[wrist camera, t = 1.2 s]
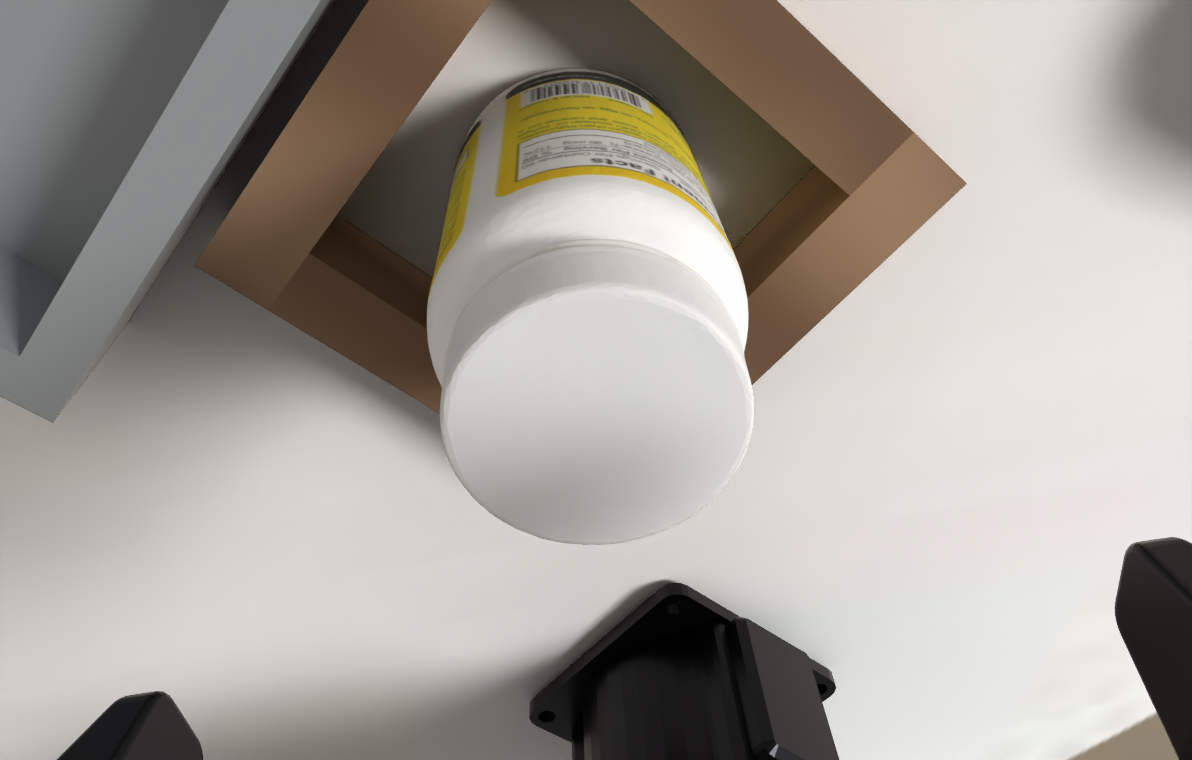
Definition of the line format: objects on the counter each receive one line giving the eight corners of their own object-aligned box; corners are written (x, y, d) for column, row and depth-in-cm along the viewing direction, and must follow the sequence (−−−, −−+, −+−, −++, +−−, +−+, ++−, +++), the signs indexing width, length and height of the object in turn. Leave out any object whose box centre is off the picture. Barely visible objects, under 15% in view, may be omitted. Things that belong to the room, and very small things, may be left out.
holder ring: (606, 462, 23) (611, 517, 21) (224, 221, 19) (194, 265, 17) (929, 146, 19) (966, 183, 17) (529, -238, 15) (527, -240, 13)
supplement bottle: (556, 328, 21) (563, 620, 13) (404, 167, 18) (319, 412, 11) (739, 199, 19) (854, 449, 12) (598, 7, 17) (637, 175, 10)
